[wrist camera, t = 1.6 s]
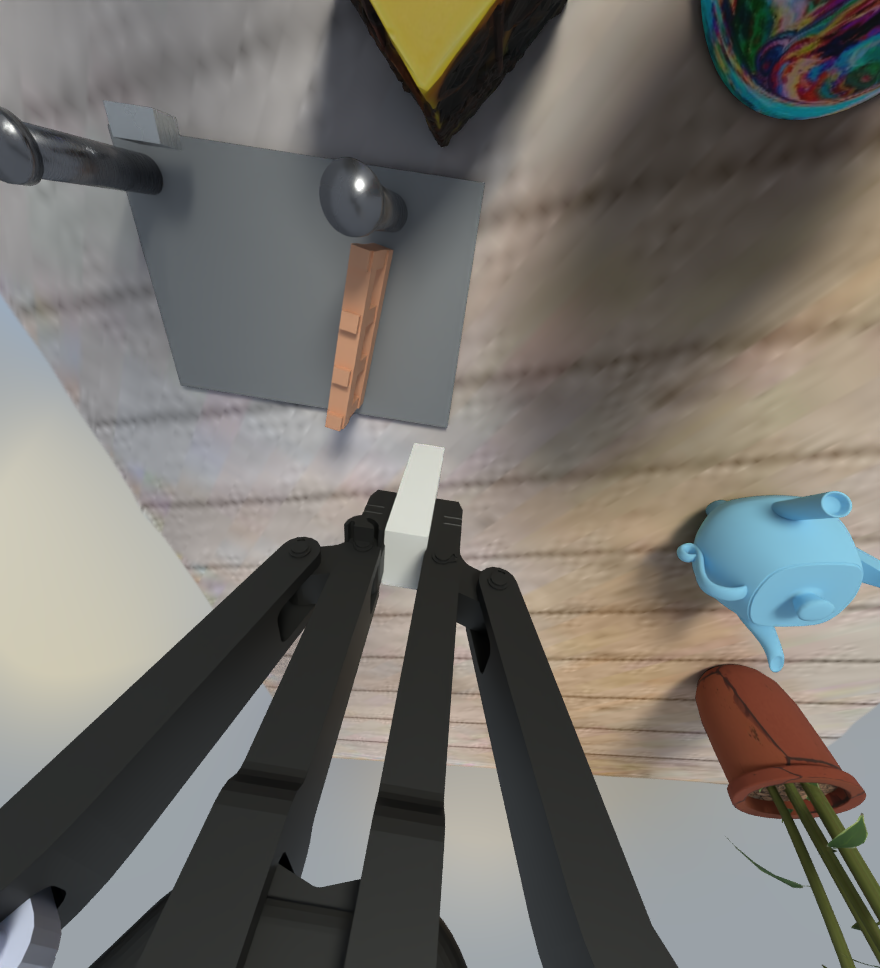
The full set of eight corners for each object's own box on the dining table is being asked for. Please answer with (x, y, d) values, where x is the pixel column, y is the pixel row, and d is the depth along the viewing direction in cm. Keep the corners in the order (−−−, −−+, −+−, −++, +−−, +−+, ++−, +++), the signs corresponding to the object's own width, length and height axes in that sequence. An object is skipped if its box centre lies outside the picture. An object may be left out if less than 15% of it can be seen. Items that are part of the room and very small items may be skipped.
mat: (114, 126, 26) (107, 124, 26) (484, 183, 26) (484, 182, 25) (184, 383, 37) (181, 385, 36) (447, 425, 37) (447, 427, 36)
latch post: (116, 115, 26) (-78, 48, 17) (205, 129, 26) (57, 69, 17) (139, 198, 28) (-19, 179, 19) (219, 211, 28) (98, 197, 19)
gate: (374, 243, 28) (348, 243, 22) (393, 250, 28) (372, 252, 22) (348, 397, 35) (323, 426, 29) (363, 402, 35) (341, 431, 30)
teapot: (844, 528, 39) (960, 619, 29) (717, 588, 45) (778, 678, 36) (773, 442, 34) (881, 517, 25) (643, 523, 41) (690, 606, 32)
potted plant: (782, 687, 55) (1112, 1177, 26) (673, 706, 61) (845, 1124, 32) (764, 623, 48) (1196, 1205, 19) (642, 651, 54) (830, 1130, 25)
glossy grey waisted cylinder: (372, 182, 26) (317, 152, 18) (415, 189, 26) (382, 162, 17) (371, 235, 28) (320, 232, 19) (412, 241, 28) (380, 241, 19)
